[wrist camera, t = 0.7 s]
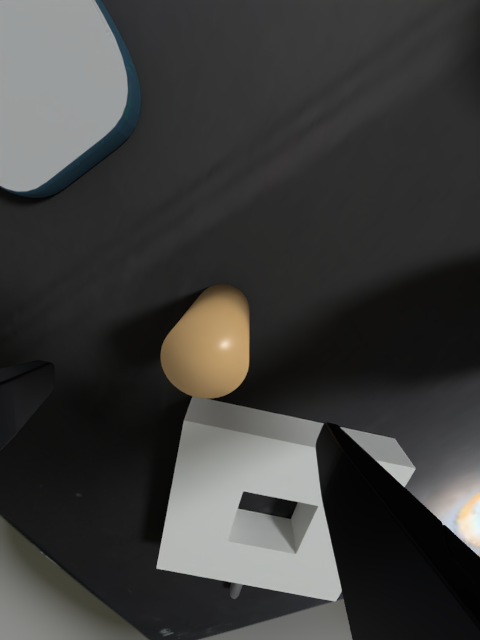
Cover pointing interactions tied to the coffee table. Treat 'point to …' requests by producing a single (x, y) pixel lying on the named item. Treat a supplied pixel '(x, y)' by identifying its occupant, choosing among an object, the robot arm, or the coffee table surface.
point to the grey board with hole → (260, 478)
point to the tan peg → (209, 344)
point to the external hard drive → (61, 92)
